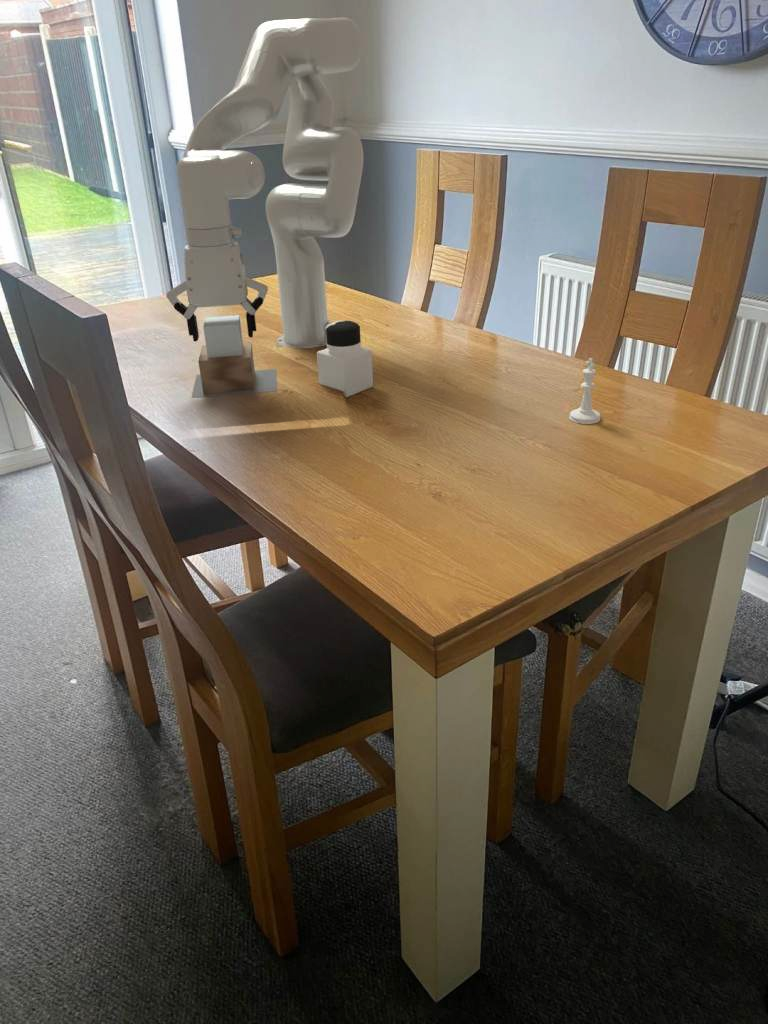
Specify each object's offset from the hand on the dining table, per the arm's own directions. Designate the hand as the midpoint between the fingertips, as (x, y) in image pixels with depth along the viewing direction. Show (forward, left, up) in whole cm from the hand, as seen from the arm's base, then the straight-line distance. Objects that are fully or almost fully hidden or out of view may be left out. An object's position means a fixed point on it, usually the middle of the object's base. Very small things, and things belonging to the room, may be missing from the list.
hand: (223, 337), depth 140 cm
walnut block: (0, 0, -9) cm, 9 cm away
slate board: (-1, 0, -10) cm, 10 cm away
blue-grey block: (0, 0, -3) cm, 3 cm away
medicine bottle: (-21, +4, -10) cm, 24 cm away
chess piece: (-58, +26, -10) cm, 64 cm away
